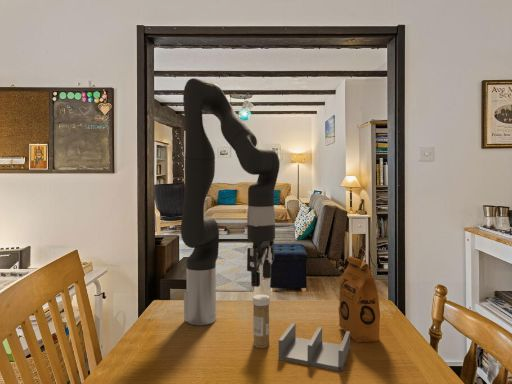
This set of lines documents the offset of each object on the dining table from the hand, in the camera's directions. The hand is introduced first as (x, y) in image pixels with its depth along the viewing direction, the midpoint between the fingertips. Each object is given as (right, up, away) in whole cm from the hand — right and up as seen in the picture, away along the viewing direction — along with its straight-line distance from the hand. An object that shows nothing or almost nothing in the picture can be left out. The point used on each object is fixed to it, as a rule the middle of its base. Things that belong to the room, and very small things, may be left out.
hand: (261, 281), depth 104 cm
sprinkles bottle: (0, -18, +1) cm, 18 cm away
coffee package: (+29, -17, +8) cm, 34 cm away
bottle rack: (+14, -18, -5) cm, 23 cm away
